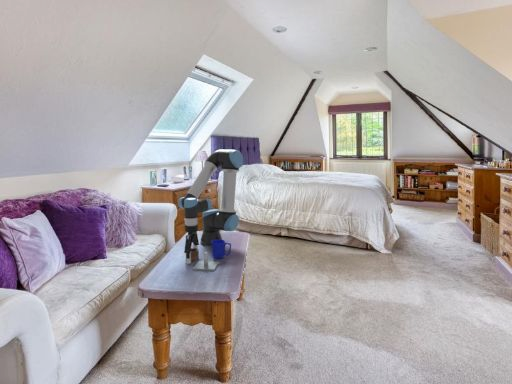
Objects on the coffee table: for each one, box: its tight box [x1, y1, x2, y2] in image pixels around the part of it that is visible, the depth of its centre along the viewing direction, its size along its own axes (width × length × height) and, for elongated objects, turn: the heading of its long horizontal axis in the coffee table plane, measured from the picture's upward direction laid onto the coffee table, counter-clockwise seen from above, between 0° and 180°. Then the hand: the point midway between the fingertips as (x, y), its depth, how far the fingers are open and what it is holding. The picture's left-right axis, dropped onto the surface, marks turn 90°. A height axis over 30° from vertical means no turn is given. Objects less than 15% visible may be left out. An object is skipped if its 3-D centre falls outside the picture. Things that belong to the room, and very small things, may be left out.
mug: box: [211, 239, 232, 260], centre depth 197 cm, size 8×12×10 cm
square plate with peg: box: [192, 251, 220, 272], centre depth 182 cm, size 12×12×8 cm
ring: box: [187, 247, 200, 263], centre depth 194 cm, size 7×7×6 cm
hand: (192, 259), depth 194 cm, fingers open, 13 cm apart
